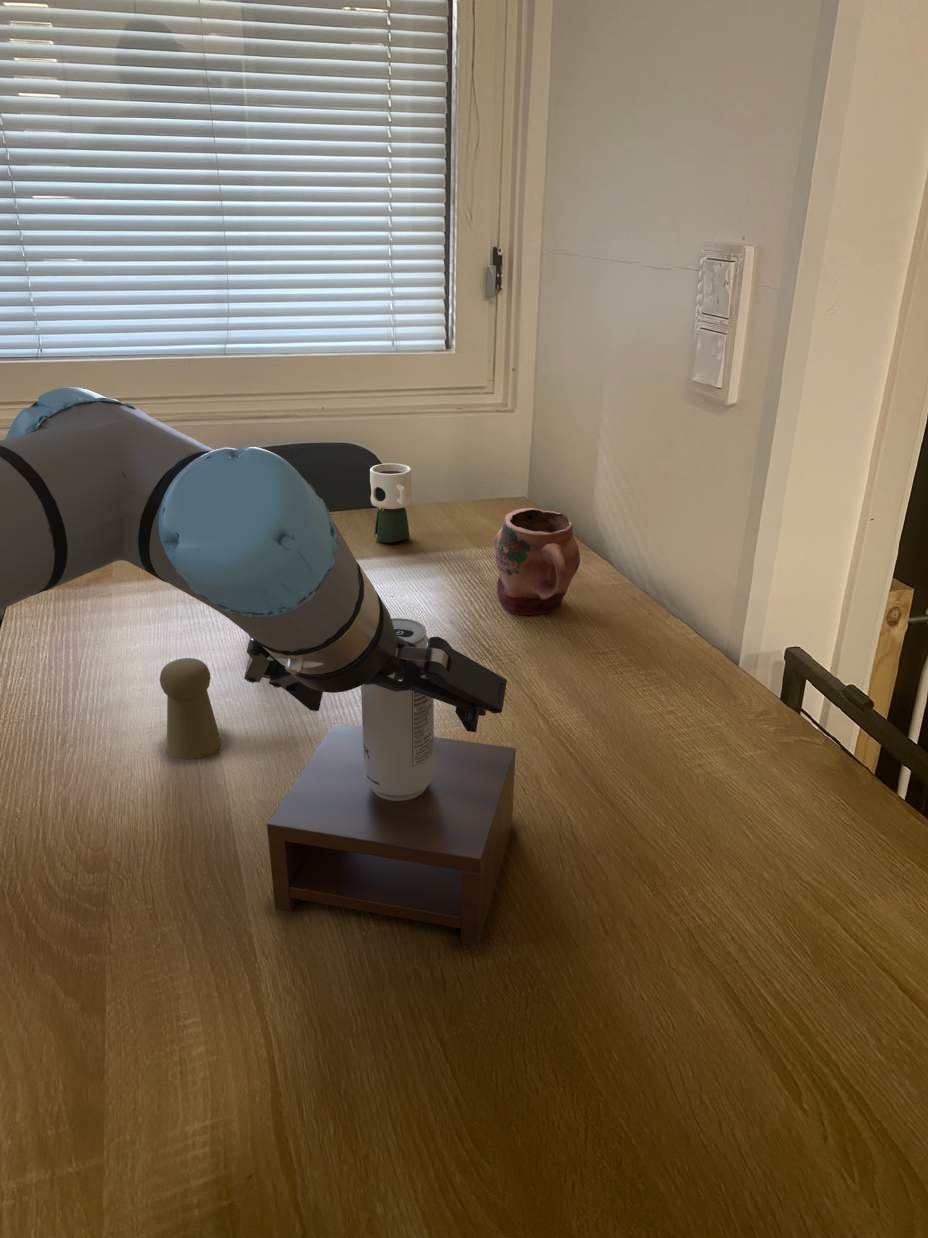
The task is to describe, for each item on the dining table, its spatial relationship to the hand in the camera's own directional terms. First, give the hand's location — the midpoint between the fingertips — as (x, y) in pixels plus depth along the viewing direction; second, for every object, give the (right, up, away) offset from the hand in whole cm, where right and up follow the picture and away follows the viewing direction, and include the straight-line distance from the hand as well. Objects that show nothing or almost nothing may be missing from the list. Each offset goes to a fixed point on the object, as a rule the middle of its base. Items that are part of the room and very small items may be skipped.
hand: (394, 705), depth 76 cm
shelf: (0, -16, +8) cm, 18 cm away
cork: (-24, -8, +25) cm, 36 cm away
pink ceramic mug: (+16, +9, +61) cm, 64 cm away
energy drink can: (0, -7, +4) cm, 8 cm away
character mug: (-7, +21, +86) cm, 89 cm away
